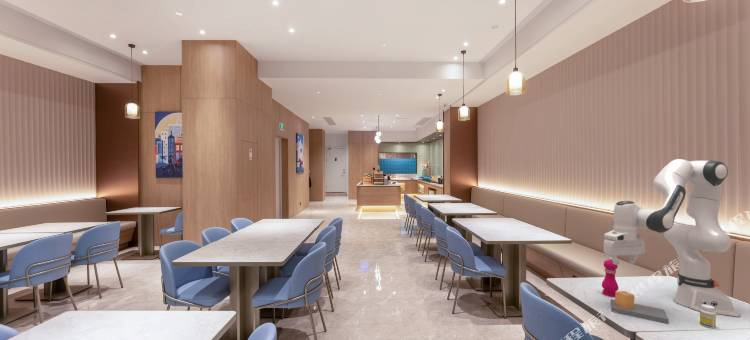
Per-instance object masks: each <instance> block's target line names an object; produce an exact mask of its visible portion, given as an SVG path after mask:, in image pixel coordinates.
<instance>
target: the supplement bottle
mask: <svg viewBox="0 0 750 340" xmlns="http://www.w3.org/2000/svg"><path fill="white" fill-rule="evenodd" d="M701 308H702V309H700V311H699V324H700V325H701V326H703V327H704V328H705V327H706V328H709V329H715V328H716V326H717V325H716V322H717V321H716V318H717V314H716V313H715V312H714V311H715V308H714V307H713V306H710V305H705V304H702V305H701Z"/></svg>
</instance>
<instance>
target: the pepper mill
mask: <svg viewBox="0 0 750 340" xmlns="http://www.w3.org/2000/svg"><path fill="white" fill-rule="evenodd" d="M618 266H619V265H615V264H613V259H612V258H611V256H610V257H608V259H606V260H604V262H603V267H604V272H605V276H604V278H603V280H602V282H601V288H602V295H604V296H607V297H611V298H615V292H616V291H619V284H618V282H617V280H616V273H617V269H618Z"/></svg>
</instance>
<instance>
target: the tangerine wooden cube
mask: <svg viewBox="0 0 750 340" xmlns="http://www.w3.org/2000/svg"><path fill="white" fill-rule="evenodd" d="M614 300H615V304H616V305H619V306H621V307H623V308H634V304H635V294H633V293H630V292H628V291H625V290H620V291H619V290H617V291H616V292H615V297H614Z"/></svg>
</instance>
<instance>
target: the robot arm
mask: <svg viewBox="0 0 750 340" xmlns="http://www.w3.org/2000/svg"><path fill="white" fill-rule="evenodd" d="M728 175H729V170H728V166H727V165H726V164H725V163H724V162H722V161H720V160H714V159H713V160H686V159H682V158H676V159H673V160H671V161H670V162H668V164H666V165H665V166H664V167H662V169H661V170H660V171H659V172H658V174H657V175H656V176H655V177H654V180H653V187H654V188H655V189H656V191H657V192H659V194H662V195H663V196H666V198H665V201H664V203H663V205H662V206H661V207H660V208H658V209H651V208H645V207H641V206H639V205H637V204H636V202H634V201H632V200H620V201H618V202H616V203H615V204H614V209H613V222H614V223H613V229H612V230H609V231H608V232H605V233H604V234H603V237H604V240H603V253H604V254H605V255H607V256H610V257H611V258H612V259H613V264H615V265H617V266H619V264H620V261H619V260H618V256H630V255H631V257H630V259H629V264H636V262H637V261H636V260H637V259H638V256H639V255H644V254H645V252H646V247H645V240H644V236H642V235H641V234H639V233H638V234H637V232H638V231H637V228H640V229H644V230H649V231H653V232H655V233H656V232H657V233H661V234H663V236H664V238H665V240H666V241H668V242H669V243H670V244H671V246H672V247H673V248H674V250H675V252H676V254H677V258H678V273H677V276H676V277H677V279H676V280H677V281H676V282H677V291H676V293H675V296H674V298H673V301H674V302H675V303H677V304H679V305H681V306H684V307H687V308H688V309H689V308H690V309H692V310H694V311H698V312H700V309H702V308H701V305H702V304H705V305H710V306H713V307H714V308H715V311H714V312H715V313H716V315H717V314H718V315H724V316H730V317H741V312H740V311H739V310H738V309H737V308H736V307H734V305H733V301H732V299H731V298H730V297H729V296H728V295H727V294H726V293H724V292H723V291H721V290H720V289H719V288H718V287H720V285H721V284H720V283H719V282H718V281H716V280H715V279H712V278H711V263H710V261H709V260H708V259H707V258H705V256H703V255H702V254H701V253H700V251H705V252H708V253H724V252H727V251H728V250H729V249H730V248H731V246H732V240H731V237H730V235H729V234H728V233H726V232H725V230H723V229H722V227H721V225H720V223H719V219H718V217H719V210H720V209H719V208H720V206H721V201H722V194H723V193H722V192H723V191H722V190H723V189H722V183H723V181H725V180H726V178H727V177H728ZM687 183H690V184H691V183H692V184H693V187H692V188H691V191H690V194H689V196H688V201H687V206H686V209H685V210H686V211H685V212H686V214H687V215H688V216H689V217H690V218H692V219H694V220H695V225H689V224H684V223H683V224H682V223H675V219H676V216H677V214H678V212H679V211H680V209H681V208H680V207H682V204H683V202H684V199H685V197H686V196H687V195H686V194H687V191H686V189H685V186H686V184H687ZM674 223H675V224H674ZM699 250H700V251H699Z"/></svg>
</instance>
